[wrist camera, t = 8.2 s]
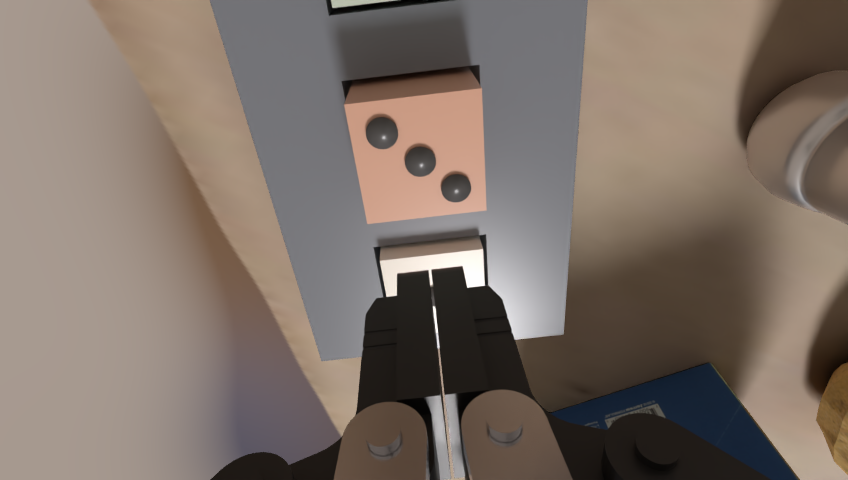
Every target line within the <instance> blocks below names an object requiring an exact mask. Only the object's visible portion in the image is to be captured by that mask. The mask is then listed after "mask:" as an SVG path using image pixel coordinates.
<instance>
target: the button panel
mask: <svg viewBox="0 0 848 480" xmlns="http://www.w3.org/2000/svg"><path fill="white" fill-rule="evenodd" d="M587 2H588V0H395V1H387V2H378V3H370V4H362V5H354V6H346V7H337V8H332V3H331V0H210V3H211V6H212V9H213V12H214V16H215V19H216V22H217V25H218V29H219V32H220V35H221V38H222V41H223V45H224V48H225V51H226V54H227V58H228V61H229V64H230V67H231V70H232V74H233V77H234V80H235V83H236V87H237V90H238V93H239V96H240V100H241V103H242V106H243V109H244V112H245V116H246V119H247V122H248V125H249V129H250V132H251V135H252V138H253V141H254V145H255V148H256V151H257V154H258V158H259V161H260V164H261V167H262V170H263V174H264V177H265V180H266V183H267V187H268V190H269V193H270V196H271V199H272V203H273V206H274V209H275V212H276V216H277V219H278V222H279V225H280V229H281V232H282V235H283V238H284V241H285V245H286V248H287V251H288V254H289V258H290V261H291V264H292V267H293V270H294V274H295V277H296V280H297V283H298V287H299V290H300V293H301V296H302V299H303V303H304V306H305V309H306V312H307V316H308V319H309V322H310V325H311V328H312V332H313V335H314V338H315V341H316V345H317V348H318V351H319V354H320V358H321V361H328V360H337V359H346V358H355V357H362V351H363V338H364V327H365V316H366V313H367V311H368V310H369V308H370V307H371V305H372V304H373V302H374V301H375V299H376V298H381V297H386V291H385V286H384V281H383V275H382V270H381V265H380V249H381V246H388V245H397V244H405V243H414V242H423V241H432V240H440V239H449V238H458V237H467V236H475V235H479V237H480V240H481V244H482V247H483V259H484V281H485V286H487V285H489V286H490V287H491V288H492V289H493V290H494V291H495V292H496V293H497V294H498V295H499V296H500V297H501V298H502V300H503V303H504V306H505V310H506V313H507V317H508V319H509V323H510V326H511V329H512V334H513V336H514V339H515V340H518V339H527V338H536V337H545V336H554V335H563V334H564V321H565V307H566V293H567V279H568V265H569V252H570V238H571V224H572V210H573V196H574V182H575V168H576V155H577V141H578V127H579V113H580V99H581V85H582V71H583V57H584V44H585V30H586V16H587ZM464 66H468V67H469V69H470V70H471V72H472V73H473V75H474V76H475V78H476V80H477V81H478V83H479V84H480V86H481V87H482V103H483V129H484V155H485V181H486V207H487V210H486V211H478V212H469V213H460V214H452V215H443V216H434V217H425V218H417V219H408V220H399V221H391V222H382V223H373V224H367V220H366V215H365V209H364V204H363V199H362V194H361V189H360V184H359V179H358V174H357V168H356V163H355V158H354V153H353V148H352V143H351V138H350V132H349V127H348V122H347V117H346V112H345V107H344V103H345V101H346V98H347V95H348V92H349V90H350V87H351V84H352V81H353V80H355V79H363V78H372V77H380V76H388V75H397V74H405V73H413V72H422V71H430V70H438V69H447V68H455V67H464ZM436 337H437V347H438V348H440V346H439V337H438V332H436Z"/></svg>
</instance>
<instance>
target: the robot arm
mask: <svg viewBox="0 0 848 480" xmlns="http://www.w3.org/2000/svg"><path fill="white" fill-rule="evenodd" d="M431 272H432V281H433V291H434V300H435V309H436V318H437V328H438V337H439V346H440V356H441V365H442V374H443V383H444V393H445V401H446V410H447V418H448V427H449V435H450V444H451V452H452V461H453V469H454V478H462V477H465V480H771V479H770V478H768V477H766V476H765V475H763V474H761V473H760V472H758V471H756V470H754V469H753V468H751V467H749V466H748V465H746V464H744V463H743V462H741V461H739V460H738V459H736V458H734V457H733V456H731V455H729V454H728V453H726V452H724V451H722V450H721V449H719V448H717V447H716V446H714V445H712V444H711V443H709V442H707V441H706V440H704V439H702V438H701V437H699V436H697V435H696V434H694V433H692V432H691V431H689V430H687V429H685V428H684V427H682V426H680V425H679V424H677V423H675V422H673V421H671V420H669V419H667V418H664V417H661V416H658V415H654V414H647V413H634V414H628V415H625V416H622V417H620V418H619V419H617V420H616V421H614V422H613V423H612V424H611V426H610V427H609V428H608V430H605V429H600V428H594V427H589V426H583V425H578V424H574V423H570V422H567V421H564V420H561V419H559V418H557V417H555V416H553V415H552V414H550V413H549V412H547V411H546V410H545V409H544V408H543V407H541V406H540V404H539V403H538V402H537V401H536V400H535V398H534V396H533V395H532V393H531V390H530V388H529V384H528V381H527V378H526V375H525V371H524V368H523V365H522V362H521V358H520V355H519V352H518V349H517V345H516V342H515V339H514V336H513V334H512V329H511V326H510V323H509V319H508V317H507V313H506V310H505V306H504V303H503V300H502V298H501V297H500V296H499V295H498V294H497V293H496V292H495V291H494V290H493V289H492V288H491V287H490V286H489V285H487V286H478V287H469V288H467V284H466V279H465V274H464V270H463V266H458V267H449V268H440V269H431ZM446 479H451V474H450V464H449V454H448V444H447V435H446V425H445V415H444V405H443V396H442V386H441V376H440V366H439V357H438V347H437V337H436V329H435V320H434V312H433V303H432V295H431V287H430V278H429V270H423V271H414V272H406V273H397V296H390V297H381V298H376V299H375V301H374V302H373V304H372V305H371V307H370V308H369V310H368V311H367V313H366V316H365V327H364V338H363V351H362V360H361V371H360V382H359V393H358V404H357V411H356V415H355V417H354V418H353V419H352V420H351V421H350V422H349V424H348V425H347V427H346V429H345V431H344V433H343V436H342V437H341V438H340V439H339V440H338V441H337V442H336V443H334V444H333V445H331V446H330V447H328V448H327V449H325V450H323V451H321V452H319V453H317V454H314V455H312V456H310V457H307V458H305V459H303V460H300V461H297V462H295V463H293V464H291V465H288V464H287V462H286V461H285V460H284V459H283V458H281V457H280V456H278V455H276V454H272V453H266V452H260V453H252V454H248V455H245V456H243V457H240V458H238V459H236V460H234V461H233V462H231V463H230V464H228V465H226V466H225V467H224V468H223V469H222V470H220V471H219V472H218V473H217V474H216V475H215V476H214V477H213V478H212V479H211V480H446Z"/></svg>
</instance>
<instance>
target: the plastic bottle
mask: <svg viewBox="0 0 848 480" xmlns="http://www.w3.org/2000/svg"><path fill="white" fill-rule="evenodd" d="M747 163H748V167H749V169H750V171H751V173H752V174H753V176H754V177H755V178H756V179H757V180H758V181H759V182H760V183H761V184H762V185H763V186H764V187H765V188H766V189H767V190H768V191H769V192H770V193H771V194H773V195H775V196H777V197H779V198H781V199H783V200H785V201H788V202H790V203H793V204H795V205H797V206H800V207H802V208H806V209H809V210H812V211H815V212H820V213H824V214H826V215H828V216H830V217H832V218H834V219H836V220H839V221H841V222H843V223H845V224H847V225H848V71H841V70H836V71H830V72H824V73H821V74H818V75H815V76H812V77H809V78H807V79H805V80H803V81H800V82H798V83H796V84H794V85H792V86H790V87H788V88H787V89H785V90H784V91H783V92H781V93H780V94H778V95H777V96H776V97H775V98H774V99H772V100H771V101H770V102H769V103H768V104H767V105H766V106H765V107H764V109H763V110H762V111H761V112H760V113H759V115H758V117H757V118H756V120H755V121H754V123H753V125H752V127H751V129H750V132H749V135H748V139H747Z"/></svg>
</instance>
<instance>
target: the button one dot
mask: <svg viewBox="0 0 848 480" xmlns="http://www.w3.org/2000/svg"><path fill="white" fill-rule="evenodd" d="M380 265H381V270H382V275H383V281H384V286H385V291H386V297H390V296H397V273H406V272H414V271H423V270H429V278H430V287H431V295H432V303H433V312H434V320H435V329H436V332H438V328H437V318H436V309H435V300H434V291H433V281H432V272H431V269H440V268H449V267H458V266H463V270H464V274H465V279H466V284H467V288H469V287H478V286H485V281H484V259H483V247H482V244H481V240H480V237H479V235H475V236H467V237H458V238H449V239H440V240H432V241H423V242H414V243H405V244H397V245H388V246H381V249H380Z"/></svg>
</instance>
